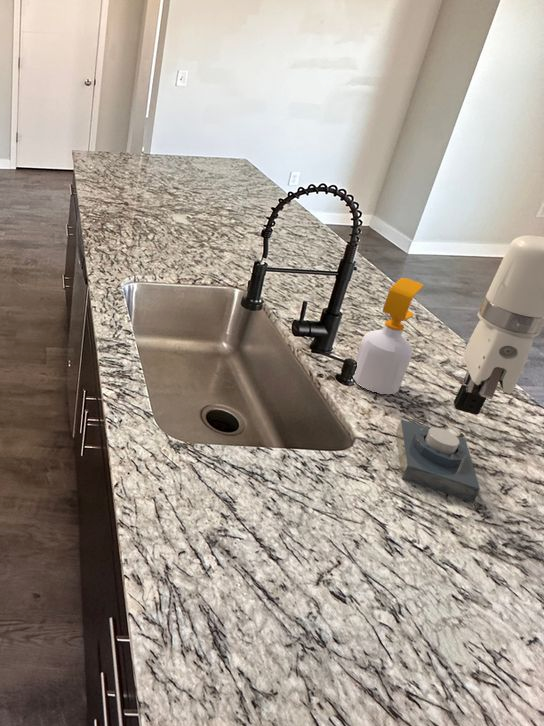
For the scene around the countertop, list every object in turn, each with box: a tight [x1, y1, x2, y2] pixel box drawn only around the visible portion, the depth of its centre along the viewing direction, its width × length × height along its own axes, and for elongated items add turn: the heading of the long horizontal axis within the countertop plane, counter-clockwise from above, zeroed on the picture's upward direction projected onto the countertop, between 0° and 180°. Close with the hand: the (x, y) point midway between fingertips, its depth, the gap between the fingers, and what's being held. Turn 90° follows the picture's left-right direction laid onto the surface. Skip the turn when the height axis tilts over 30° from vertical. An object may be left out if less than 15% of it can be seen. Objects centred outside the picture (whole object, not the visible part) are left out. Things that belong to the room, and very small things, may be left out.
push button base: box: [395, 418, 481, 504], centre depth 94 cm, size 10×13×5 cm
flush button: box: [425, 427, 460, 454], centre depth 93 cm, size 4×4×2 cm
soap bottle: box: [354, 277, 424, 395], centre depth 111 cm, size 9×9×25 cm
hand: (465, 409), depth 90 cm, fingers closed
